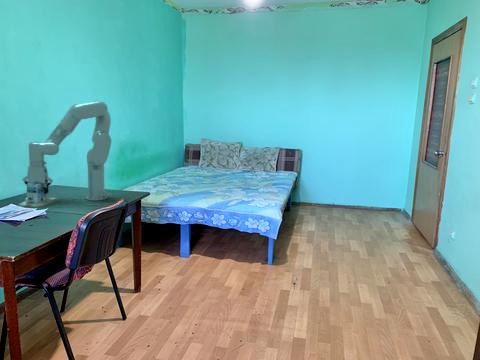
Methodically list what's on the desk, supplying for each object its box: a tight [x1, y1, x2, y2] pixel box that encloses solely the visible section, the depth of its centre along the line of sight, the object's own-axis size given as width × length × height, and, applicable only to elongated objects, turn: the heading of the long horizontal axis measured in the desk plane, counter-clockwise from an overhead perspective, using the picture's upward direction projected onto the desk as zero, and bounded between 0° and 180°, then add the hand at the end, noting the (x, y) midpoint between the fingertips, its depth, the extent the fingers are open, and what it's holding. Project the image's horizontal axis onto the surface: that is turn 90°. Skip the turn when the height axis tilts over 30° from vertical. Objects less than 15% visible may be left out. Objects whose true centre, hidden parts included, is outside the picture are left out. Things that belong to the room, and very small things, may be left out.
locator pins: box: [25, 197, 38, 205], centre depth 213 cm, size 6×16×4 cm, turn 0°
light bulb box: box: [26, 181, 50, 203], centre depth 213 cm, size 11×7×11 cm, turn 175°
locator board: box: [17, 197, 59, 208], centre depth 214 cm, size 14×18×1 cm
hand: (38, 193), depth 213 cm, fingers open, 8 cm apart
